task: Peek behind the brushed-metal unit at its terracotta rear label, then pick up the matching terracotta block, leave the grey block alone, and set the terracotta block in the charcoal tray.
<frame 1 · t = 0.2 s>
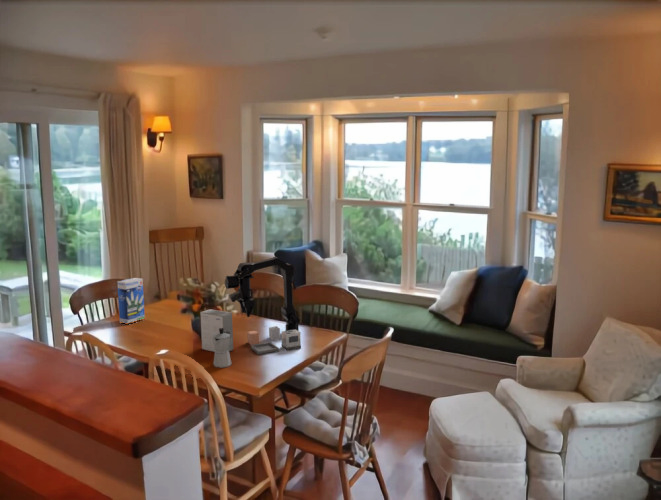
hand: (245, 314, 305), 14 cm above the table, tool pointing down, fingers open, 9 cm apart
hard drive box: (217, 350, 292), on the table
charcoal tray: (264, 349, 292), on the table
string lights box: (132, 321, 341), on the table
terracotta block: (253, 343, 302), on the table
mounted unit: (291, 347, 295), on the table
grey block: (274, 338, 310), on the table
coffee maker: (223, 364, 273), on the table
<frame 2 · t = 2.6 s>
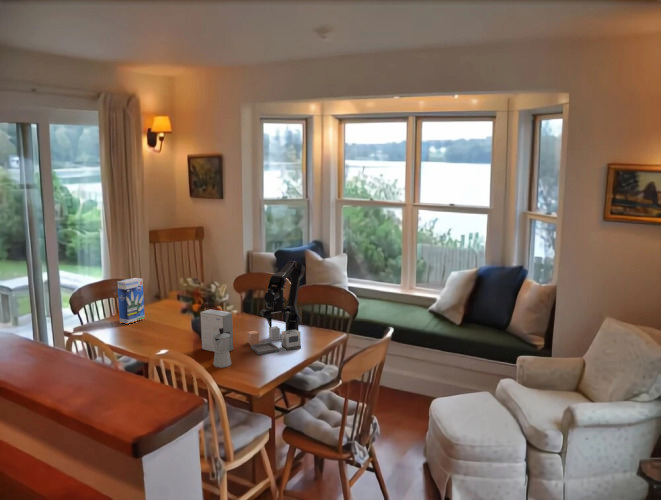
hand: (278, 326, 302), 9 cm above the table, tool pointing down, fingers open, 9 cm apart
nothing on the table moved.
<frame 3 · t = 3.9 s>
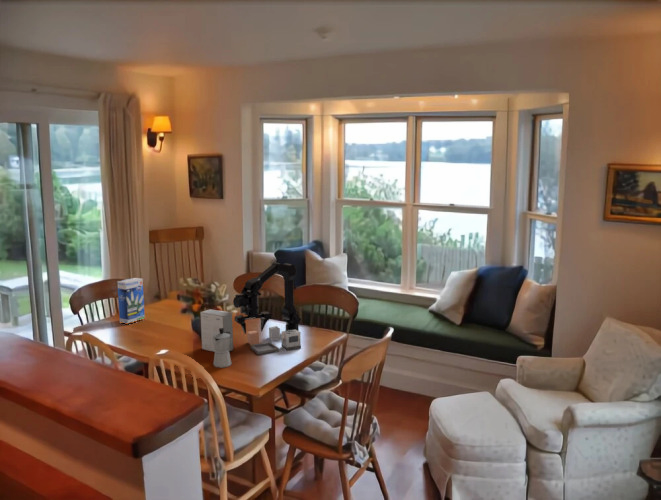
hand: (253, 332, 301), 6 cm above the table, tool pointing down, fingers open, 9 cm apart
nothing on the table moved.
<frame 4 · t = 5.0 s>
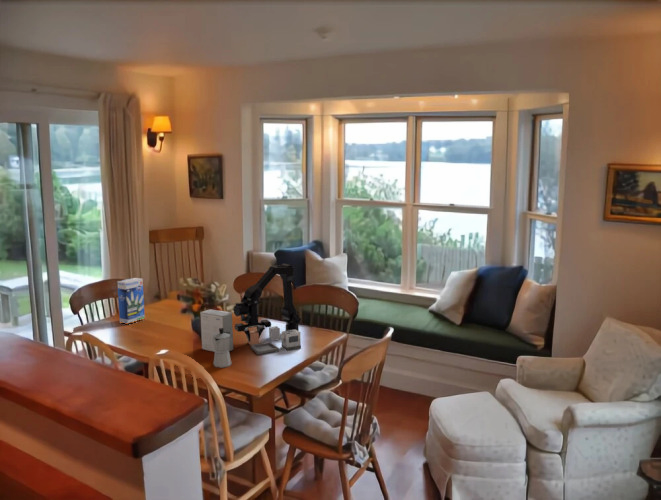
hand: (253, 340, 302), 1 cm above the table, tool pointing down, fingers closed on terracotta block, 4 cm apart
terracotta block: (253, 343, 302), on the table, touching gripper
everything else where it was.
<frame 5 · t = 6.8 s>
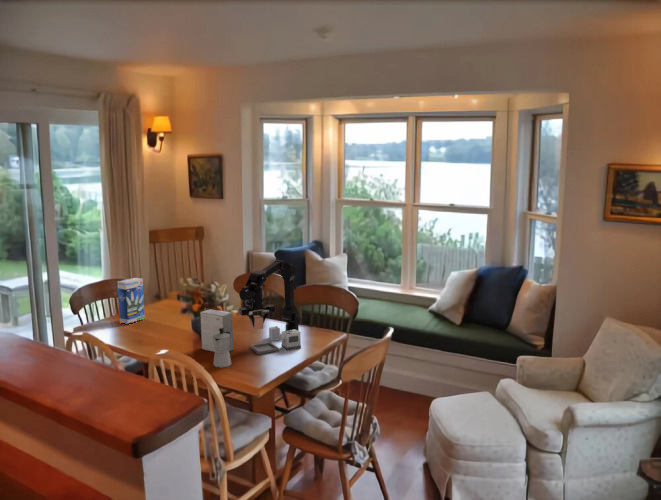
hand: (257, 325, 295), 11 cm above the table, tool pointing down, fingers closed on terracotta block, 4 cm apart
terracotta block: (257, 328, 296), point 10 cm above the table, touching gripper
everything else where it was.
when the fingers open (3 cm above the table, at t = 9.0 s): terracotta block drops 2 cm, resting on charcoal tray.
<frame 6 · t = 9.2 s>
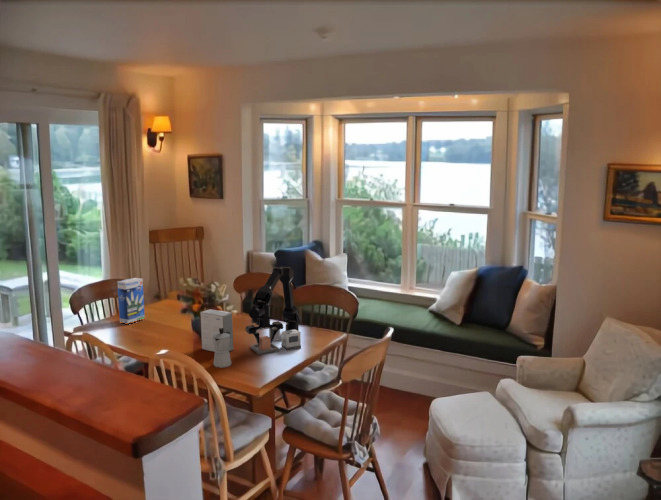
hand: (264, 343, 291), 3 cm above the table, tool pointing down, fingers open, 7 cm apart
terracotta block: (264, 348, 291), point 1 cm above the table, touching charcoal tray
everything else where it was.
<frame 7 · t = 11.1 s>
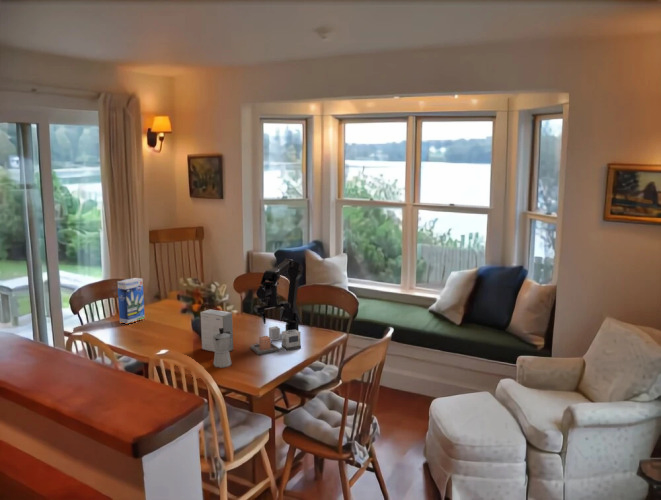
hand: (272, 322, 300), 11 cm above the table, tool pointing down, fingers open, 9 cm apart
nothing on the table moved.
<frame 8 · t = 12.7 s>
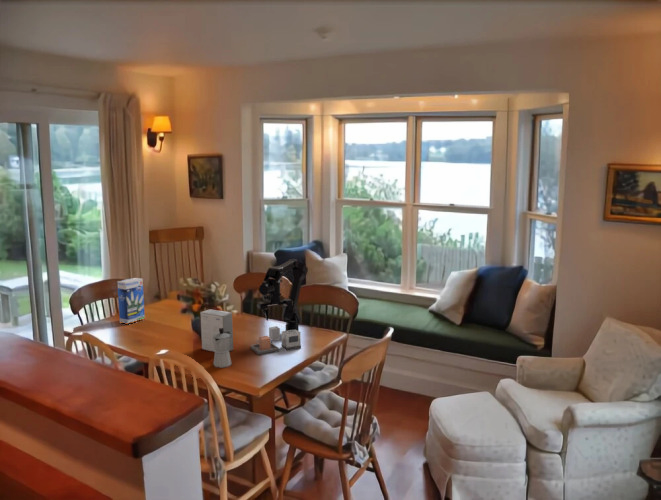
hand: (275, 319, 304), 12 cm above the table, tool pointing down, fingers open, 9 cm apart
nothing on the table moved.
at the end: terracotta block 0.0 cm off-centre on the charcoal tray, point 0.6 cm above the charcoal tray's base; terracotta block tilted 0°; grey block moved 0.1 cm from its start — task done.
